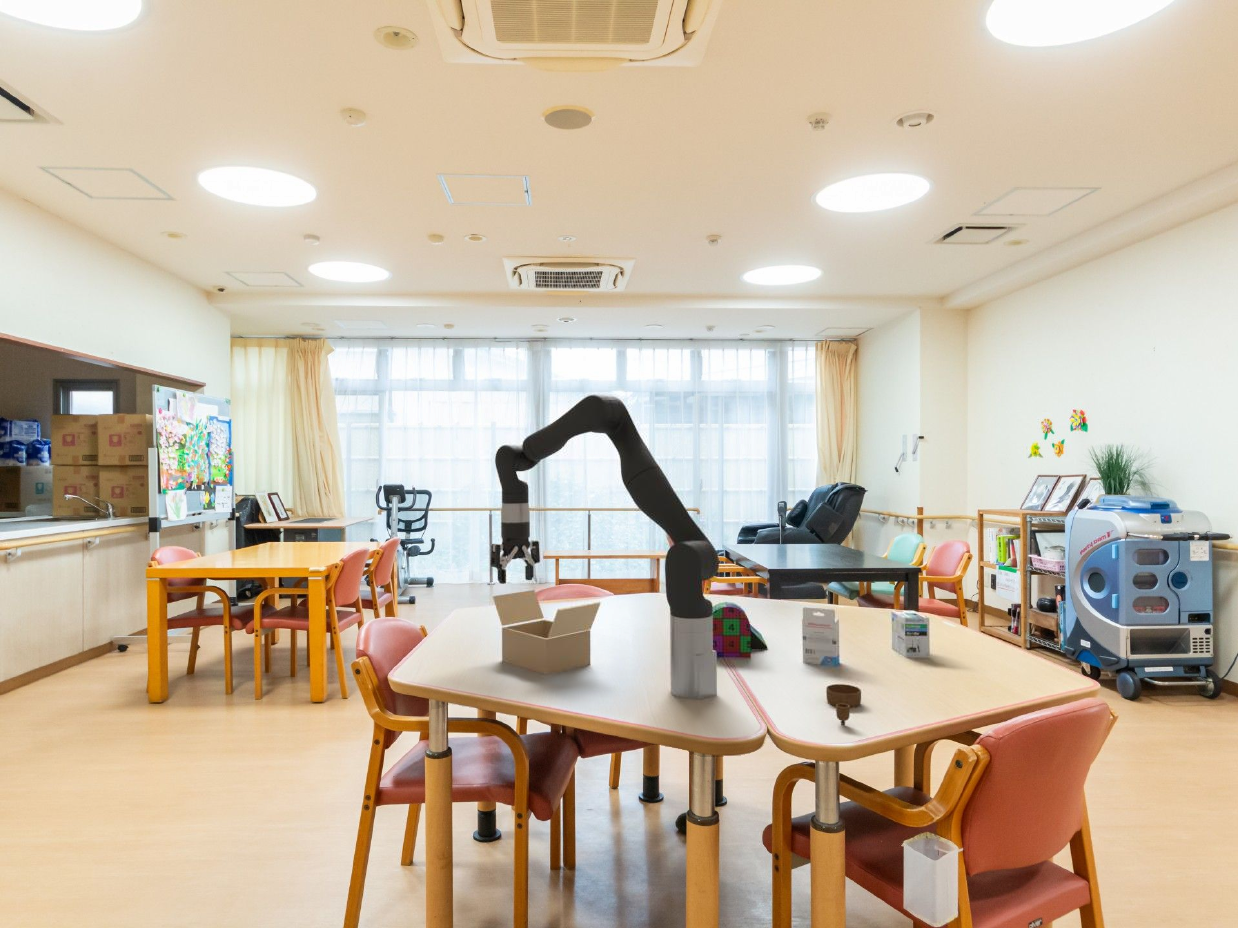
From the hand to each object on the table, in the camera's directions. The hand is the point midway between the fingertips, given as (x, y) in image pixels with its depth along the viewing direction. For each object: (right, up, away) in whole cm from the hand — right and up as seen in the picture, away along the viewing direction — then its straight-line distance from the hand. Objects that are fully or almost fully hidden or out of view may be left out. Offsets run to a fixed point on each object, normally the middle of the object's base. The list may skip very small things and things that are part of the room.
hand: (515, 581), depth 194 cm
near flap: (+16, -6, -17) cm, 24 cm away
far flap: (+1, -7, -1) cm, 7 cm away
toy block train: (+60, -21, +11) cm, 64 cm away
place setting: (+71, -21, -44) cm, 86 cm away
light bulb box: (+106, -20, +4) cm, 108 cm away
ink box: (+79, -20, -7) cm, 82 cm away
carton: (+9, -20, -9) cm, 24 cm away
